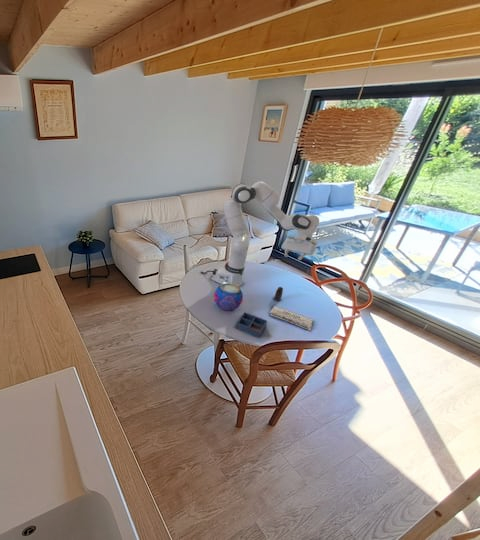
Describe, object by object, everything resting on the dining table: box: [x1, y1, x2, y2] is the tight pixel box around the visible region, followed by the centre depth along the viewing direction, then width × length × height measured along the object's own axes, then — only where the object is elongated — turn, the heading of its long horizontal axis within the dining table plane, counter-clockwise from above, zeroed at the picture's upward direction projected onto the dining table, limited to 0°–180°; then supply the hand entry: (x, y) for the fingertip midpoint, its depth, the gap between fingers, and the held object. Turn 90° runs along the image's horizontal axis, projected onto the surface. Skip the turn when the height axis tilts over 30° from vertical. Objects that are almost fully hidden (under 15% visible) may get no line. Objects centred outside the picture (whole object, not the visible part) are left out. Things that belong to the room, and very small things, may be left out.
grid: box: [235, 311, 268, 338], centre depth 169 cm, size 13×13×4 cm
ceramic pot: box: [213, 283, 244, 311], centre depth 184 cm, size 18×18×15 cm
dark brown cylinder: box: [273, 286, 284, 302], centre depth 192 cm, size 4×4×10 cm
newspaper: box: [269, 305, 314, 331], centre depth 176 cm, size 23×12×2 cm, turn 48°
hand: (292, 258), depth 185 cm, fingers open, 8 cm apart
